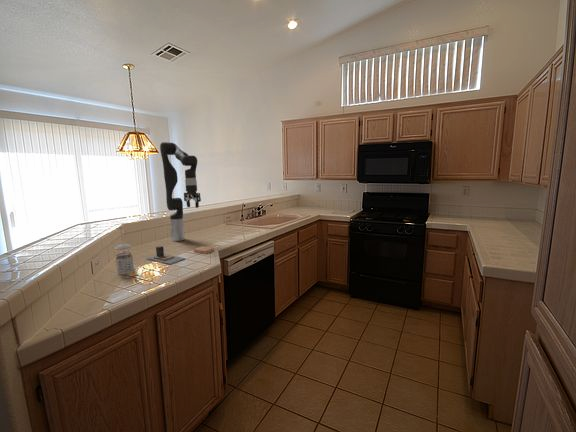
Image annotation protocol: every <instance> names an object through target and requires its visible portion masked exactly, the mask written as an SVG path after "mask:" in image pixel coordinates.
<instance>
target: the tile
mask: <svg viewBox="0 0 576 432" xmlns="http://www.w3.org/2000/svg"><path fill="white" fill-rule="evenodd" d="M214 251H215V249H214V247H212V246H211V247H210V246H199V247H197V248H196V247H195V248H194V249H193V252H194V253H197V254H205V255H207V254H210V253H213V252H214Z"/></svg>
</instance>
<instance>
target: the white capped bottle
mask: <svg viewBox="0 0 576 432" xmlns="http://www.w3.org/2000/svg"><path fill="white" fill-rule="evenodd" d="M122 229H124V228H123V226H119V227H118V230H122ZM120 236H121V238H123V233H122V231H120ZM121 241H122V242H121V243H120V244H118V245H116V246H115V247H114V250H115V251H122V252H120V253H117V254H116V258H115V261H116V263H115V264H116V272H115V275H127V274H131V273H133V272H136V268H135V266H134V261H133V260H134V259H133V255H132V252H130V251H129V250H127V249H130V248H131V247H132V245H131V244H129V243H123V242H124V241H123V240H121ZM125 250H127V252H126V251H125Z"/></svg>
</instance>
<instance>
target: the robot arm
mask: <svg viewBox="0 0 576 432" xmlns="http://www.w3.org/2000/svg"><path fill="white" fill-rule="evenodd" d="M159 149H160V155H161V156H160V157H161V160H162V166H163V178H164V184H165V192H166V193H165V194H166V195H165V196H166V207H167V210H168V211H175V212H174V213H172V214H171V215H170V216H169V218H170V227H171V228H170V239H171V241H173V242H181V241H185V227H184V207H183V206H184V203H183V201H184V202H186V207H187V208H190V207H191V200H193V201H194V202H195V203H194V204H195V206H194V207H195V208H196V209H199V207H200V204H199V203H200V202H201V201H202V199H201V192H197V191H198V182H197V174H196V173H197V172H196V170H197V166H198V158H197V157H196V155H189V154H188V153H187V152H185V151H183V150H181V148H180V147H178V145H177V144H176V143H174V142H167V141H165V142H164V141H163V142H161V143H160V144H159ZM169 156H175V159H177V160H178V161H180V163H181V164H182V165H183V166H184V167H190V168H188V169H185V171H184V178H185V179H184V182H185V192H183V200H182V198H181V197H173V192H174V190H175V188H176V185H177V184H178V178H179V177H178V171H177V170H176V168H175V167H174V165H172V163H171V162H170V159H169Z"/></svg>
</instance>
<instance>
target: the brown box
mask: <svg viewBox="0 0 576 432" xmlns="http://www.w3.org/2000/svg"><path fill="white" fill-rule="evenodd" d="M155 252H156V255H157V256H156V255H155V256H156V257H154V259H159V260H163V261H165V260H168V259H171V258H174V256H175V255H171V254H166V255H165V251H164V245H163V246H162V245H158V246H156V247H155ZM170 255H171V256H170Z"/></svg>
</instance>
